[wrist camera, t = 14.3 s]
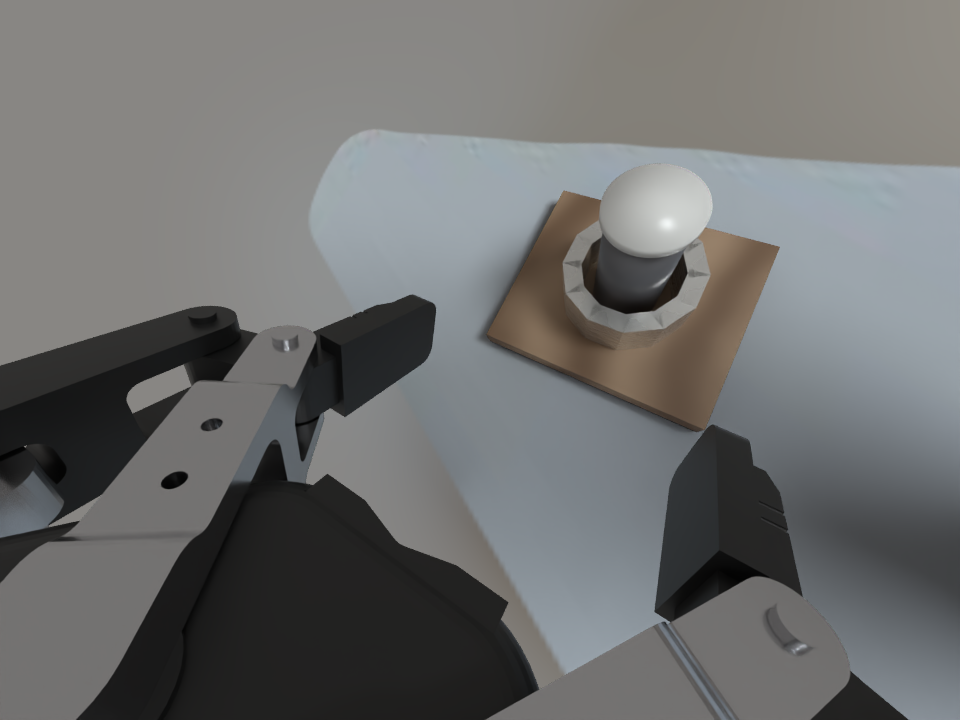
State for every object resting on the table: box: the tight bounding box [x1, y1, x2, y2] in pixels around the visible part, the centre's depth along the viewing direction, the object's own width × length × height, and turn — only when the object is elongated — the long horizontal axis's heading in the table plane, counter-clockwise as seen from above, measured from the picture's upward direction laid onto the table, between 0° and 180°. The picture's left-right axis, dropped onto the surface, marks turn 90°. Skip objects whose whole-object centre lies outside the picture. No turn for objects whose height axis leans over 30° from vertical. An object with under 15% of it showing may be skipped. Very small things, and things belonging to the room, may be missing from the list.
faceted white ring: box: [563, 220, 711, 350], centre depth 24 cm, size 9×9×4 cm
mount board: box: [486, 191, 780, 432], centre depth 27 cm, size 16×14×2 cm
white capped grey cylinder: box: [593, 164, 712, 314], centre depth 22 cm, size 5×5×10 cm
